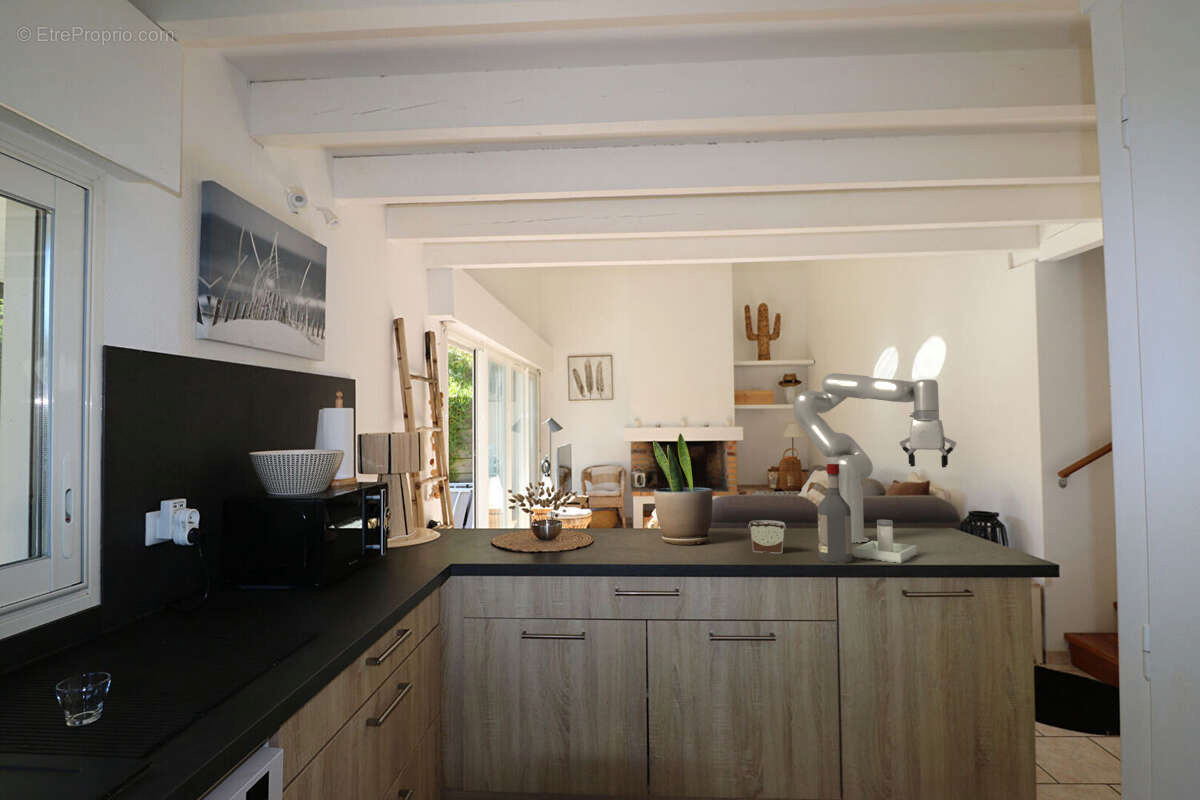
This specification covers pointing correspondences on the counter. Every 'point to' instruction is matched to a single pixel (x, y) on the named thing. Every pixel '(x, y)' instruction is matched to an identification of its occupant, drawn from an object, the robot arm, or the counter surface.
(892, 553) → the tray
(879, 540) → the shaker
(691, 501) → the potted plant
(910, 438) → the robot arm
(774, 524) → the food container
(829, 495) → the liquor
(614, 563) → the counter surface
